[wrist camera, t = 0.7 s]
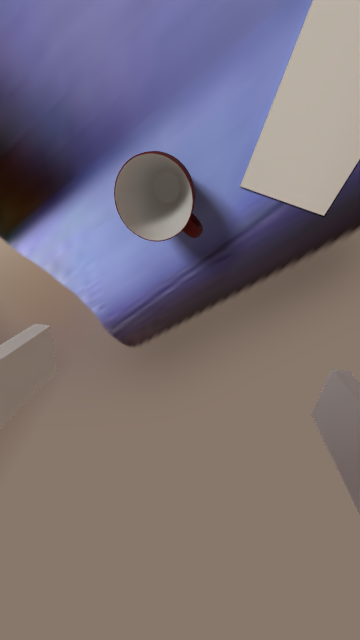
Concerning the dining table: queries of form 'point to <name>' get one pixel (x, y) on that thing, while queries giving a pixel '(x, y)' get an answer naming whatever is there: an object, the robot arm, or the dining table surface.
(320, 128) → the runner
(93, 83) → the dining table surface
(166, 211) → the mug
